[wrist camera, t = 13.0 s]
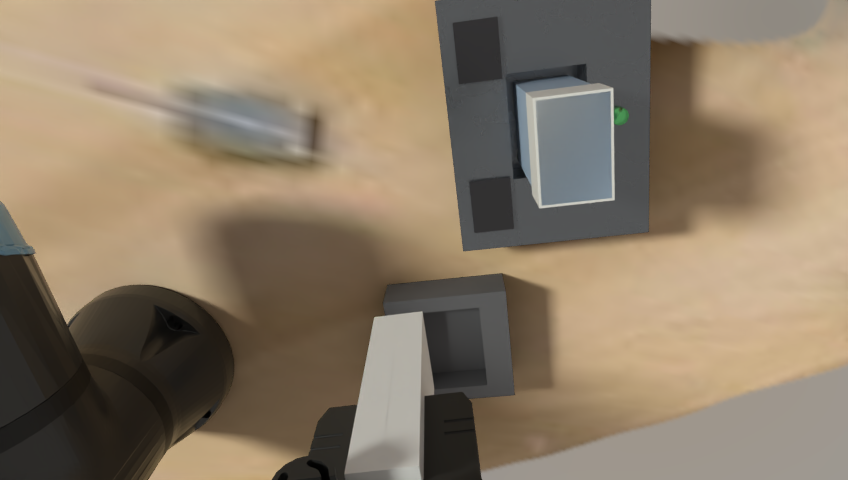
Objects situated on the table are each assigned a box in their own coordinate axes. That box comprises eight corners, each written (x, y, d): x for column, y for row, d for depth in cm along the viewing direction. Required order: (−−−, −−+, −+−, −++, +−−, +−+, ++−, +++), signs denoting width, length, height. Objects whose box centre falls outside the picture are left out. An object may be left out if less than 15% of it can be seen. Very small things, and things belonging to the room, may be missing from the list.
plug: (516, 162, 44) (539, 208, 32) (510, 79, 42) (532, 98, 30) (572, 156, 43) (614, 200, 32) (568, 72, 41) (613, 88, 30)
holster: (403, 381, 52) (400, 404, 49) (387, 284, 49) (383, 303, 46) (510, 371, 52) (514, 395, 48) (501, 273, 48) (505, 291, 45)
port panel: (462, 233, 47) (463, 254, 43) (436, 3, 41) (434, 0, 37) (632, 215, 46) (651, 234, 42) (632, -25, 40) (654, -32, 35)
